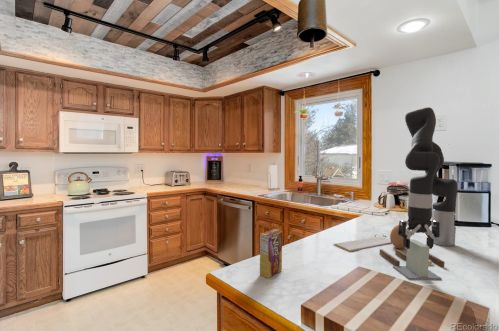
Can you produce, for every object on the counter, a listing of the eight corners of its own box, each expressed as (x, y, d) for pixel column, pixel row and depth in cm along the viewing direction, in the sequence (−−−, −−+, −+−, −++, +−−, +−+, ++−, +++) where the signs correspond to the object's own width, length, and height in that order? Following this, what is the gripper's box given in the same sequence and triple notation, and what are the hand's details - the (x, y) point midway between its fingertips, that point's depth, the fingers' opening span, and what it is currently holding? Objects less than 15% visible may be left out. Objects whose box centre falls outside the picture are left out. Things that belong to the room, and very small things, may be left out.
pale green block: (413, 267, 103) (414, 239, 103) (427, 276, 96) (429, 246, 95) (405, 267, 103) (407, 239, 103) (419, 276, 95) (421, 246, 95)
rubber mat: (422, 268, 105) (422, 266, 105) (441, 280, 95) (441, 278, 95) (392, 267, 104) (392, 265, 104) (408, 280, 94) (408, 277, 94)
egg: (385, 246, 129) (386, 223, 129) (398, 244, 132) (399, 222, 132) (400, 252, 121) (401, 228, 121) (413, 250, 124) (414, 226, 124)
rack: (421, 255, 118) (422, 249, 118) (444, 267, 105) (444, 261, 105) (379, 254, 118) (379, 249, 118) (396, 267, 105) (396, 261, 105)
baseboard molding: (330, 244, 131) (349, 253, 121) (331, 239, 131) (349, 247, 120) (373, 237, 145) (394, 244, 134) (374, 232, 145) (394, 238, 134)
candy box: (272, 267, 102) (273, 228, 102) (282, 270, 100) (283, 230, 99) (258, 274, 96) (259, 233, 95) (268, 278, 93) (269, 236, 92)
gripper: (431, 203, 102) (429, 244, 103) (395, 203, 102) (393, 244, 102) (446, 207, 95) (444, 252, 95) (407, 207, 94) (405, 251, 95)
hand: (417, 248), depth 99 cm, fingers open, 8 cm apart
